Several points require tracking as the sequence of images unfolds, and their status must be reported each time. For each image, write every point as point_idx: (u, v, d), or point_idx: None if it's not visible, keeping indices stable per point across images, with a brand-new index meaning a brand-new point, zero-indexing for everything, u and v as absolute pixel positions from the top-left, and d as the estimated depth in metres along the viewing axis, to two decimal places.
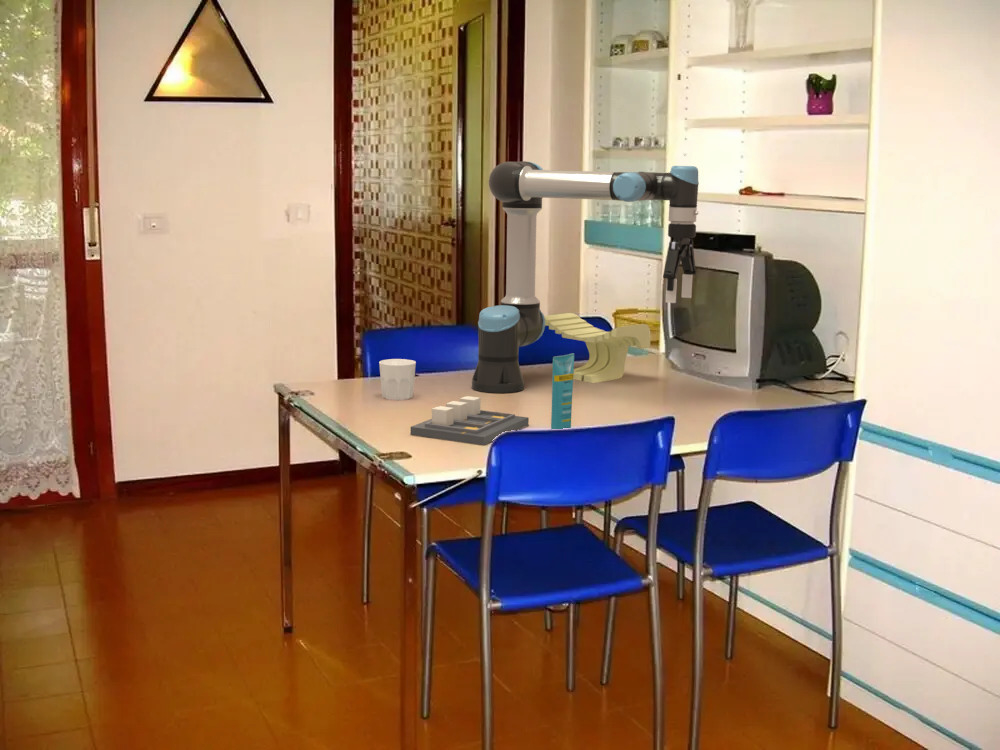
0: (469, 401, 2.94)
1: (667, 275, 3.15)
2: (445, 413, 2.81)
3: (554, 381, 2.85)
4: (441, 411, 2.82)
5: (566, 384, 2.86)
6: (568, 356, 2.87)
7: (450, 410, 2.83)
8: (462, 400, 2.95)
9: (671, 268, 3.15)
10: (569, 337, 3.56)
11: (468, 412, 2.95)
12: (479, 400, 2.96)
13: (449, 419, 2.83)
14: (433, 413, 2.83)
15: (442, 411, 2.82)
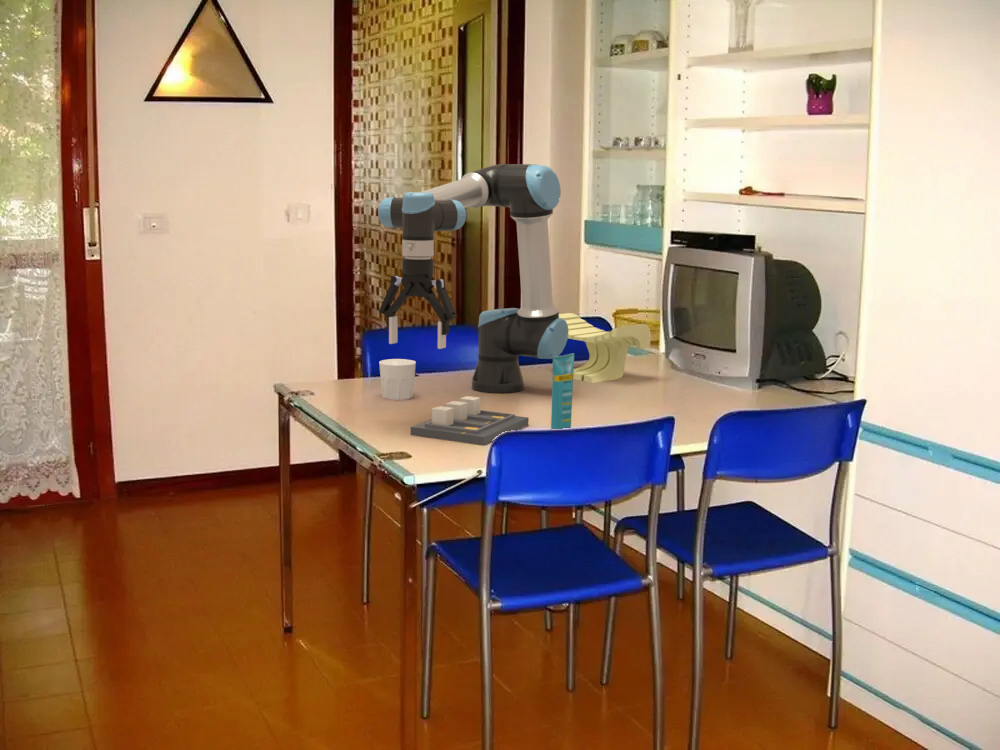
0: (469, 401, 2.94)
1: None
2: (445, 413, 2.81)
3: (554, 381, 2.85)
4: (441, 411, 2.82)
5: (566, 384, 2.86)
6: (568, 356, 2.87)
7: (450, 410, 2.83)
8: (462, 400, 2.95)
9: None
10: (569, 337, 3.56)
11: (468, 412, 2.95)
12: (479, 400, 2.96)
13: (449, 419, 2.83)
14: (433, 413, 2.83)
15: (442, 411, 2.82)
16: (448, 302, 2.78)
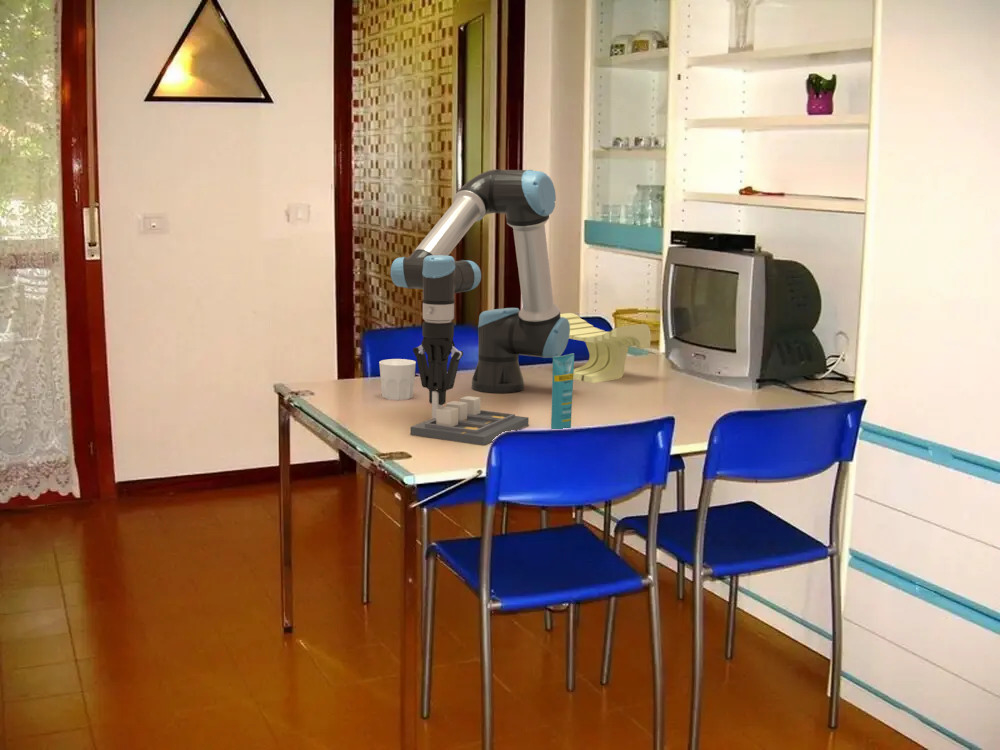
0: (469, 401, 2.94)
1: None
2: (450, 414, 2.81)
3: (554, 381, 2.85)
4: (446, 412, 2.81)
5: (566, 384, 2.86)
6: (568, 356, 2.87)
7: (455, 410, 2.83)
8: (462, 400, 2.95)
9: None
10: (569, 337, 3.56)
11: (468, 412, 2.95)
12: (479, 400, 2.96)
13: (454, 420, 2.82)
14: (438, 414, 2.82)
15: (447, 412, 2.81)
16: (453, 374, 2.80)
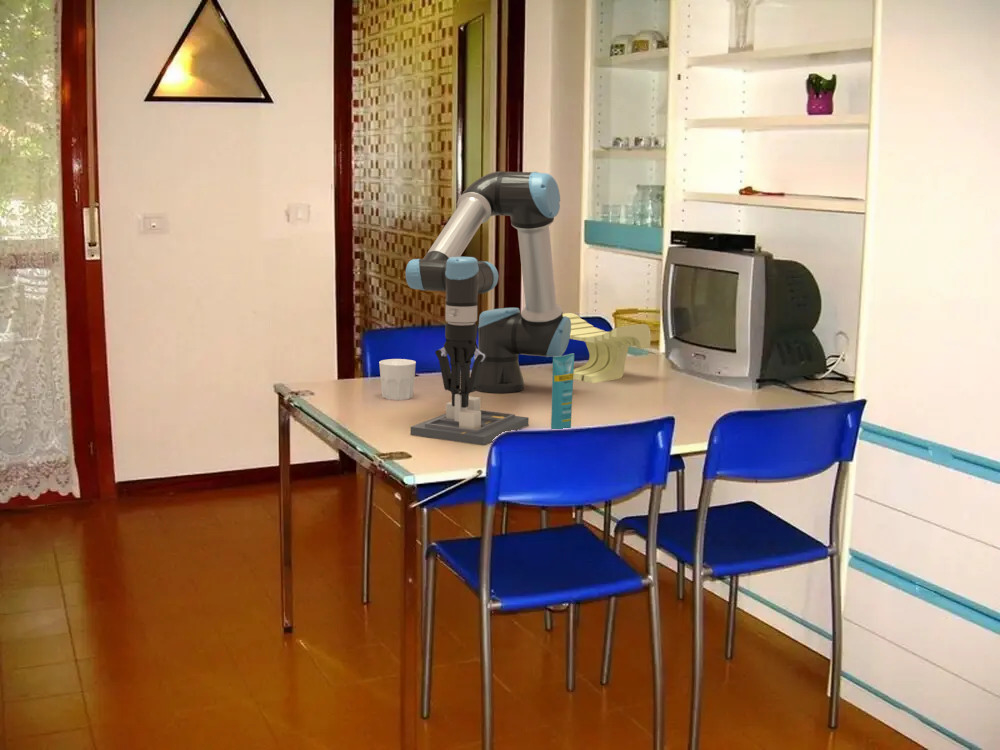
0: (469, 401, 2.94)
1: None
2: (473, 417, 2.78)
3: (554, 381, 2.85)
4: (469, 415, 2.78)
5: (566, 384, 2.86)
6: (568, 356, 2.87)
7: (478, 413, 2.80)
8: None
9: None
10: None
11: None
12: (479, 400, 2.96)
13: (477, 423, 2.80)
14: (460, 417, 2.80)
15: (470, 415, 2.78)
16: (476, 377, 2.78)
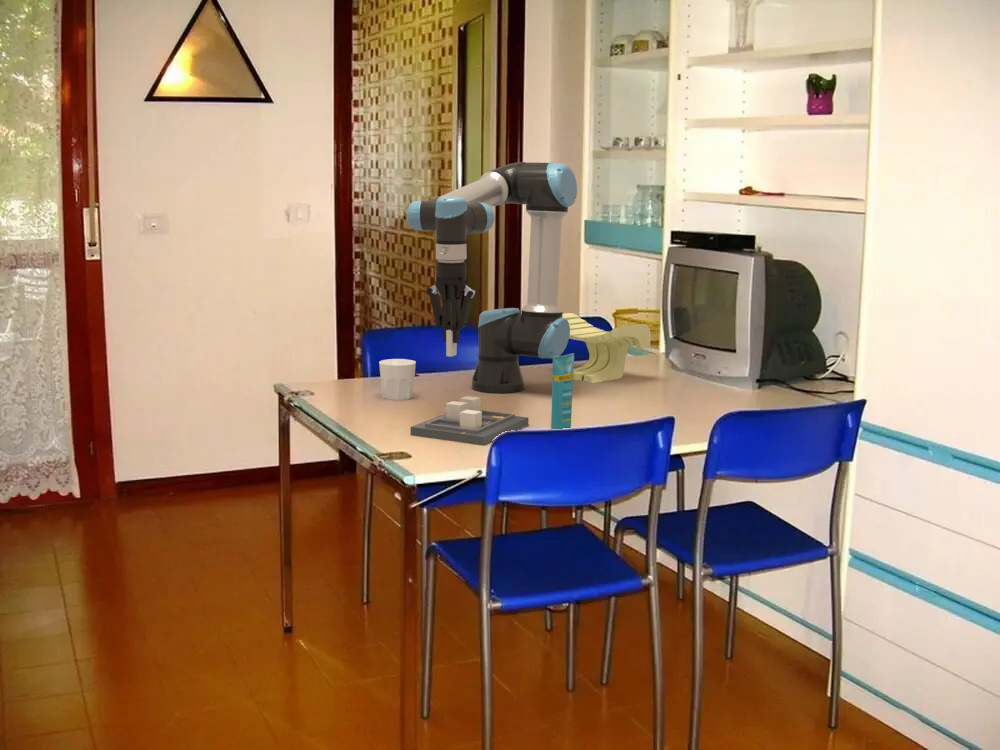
0: (469, 401, 2.94)
1: None
2: (473, 417, 2.78)
3: (554, 381, 2.85)
4: (469, 415, 2.78)
5: (566, 384, 2.86)
6: (568, 356, 2.87)
7: (479, 414, 2.80)
8: (462, 400, 2.95)
9: None
10: (569, 337, 3.56)
11: None
12: (479, 400, 2.96)
13: (477, 423, 2.80)
14: (461, 417, 2.79)
15: (470, 415, 2.78)
16: (467, 313, 2.88)
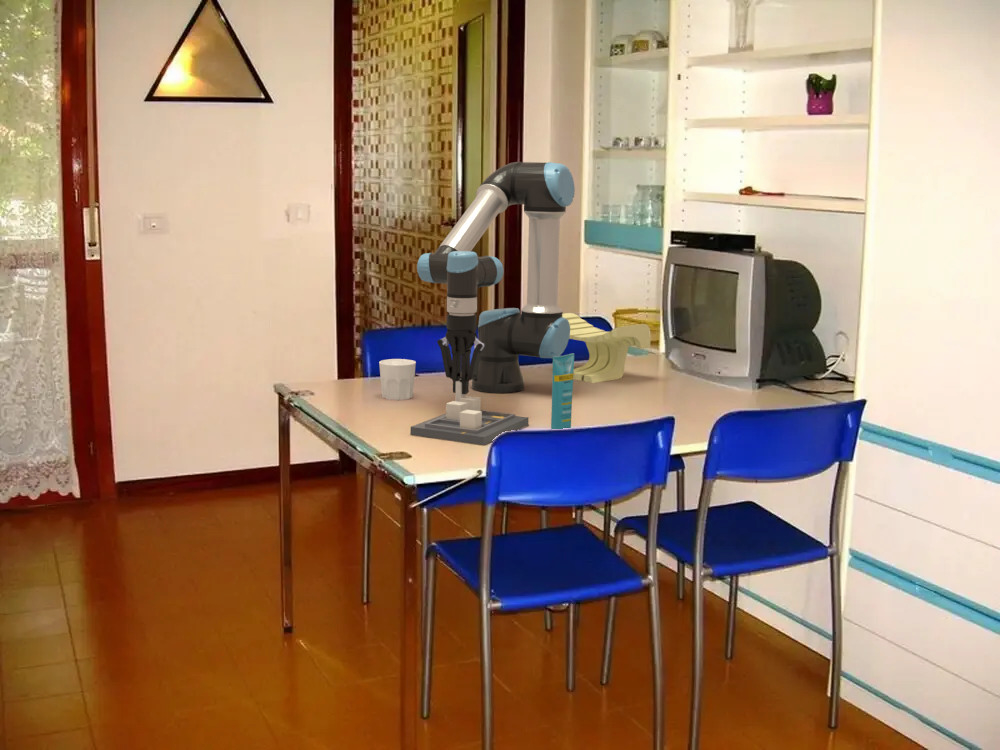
0: (469, 401, 2.94)
1: None
2: (473, 417, 2.78)
3: (554, 381, 2.85)
4: (469, 415, 2.78)
5: (566, 384, 2.86)
6: (568, 356, 2.87)
7: (479, 414, 2.80)
8: (462, 400, 2.95)
9: None
10: (569, 337, 3.56)
11: None
12: (479, 400, 2.96)
13: (477, 423, 2.80)
14: (461, 417, 2.79)
15: (470, 415, 2.78)
16: (476, 365, 2.93)
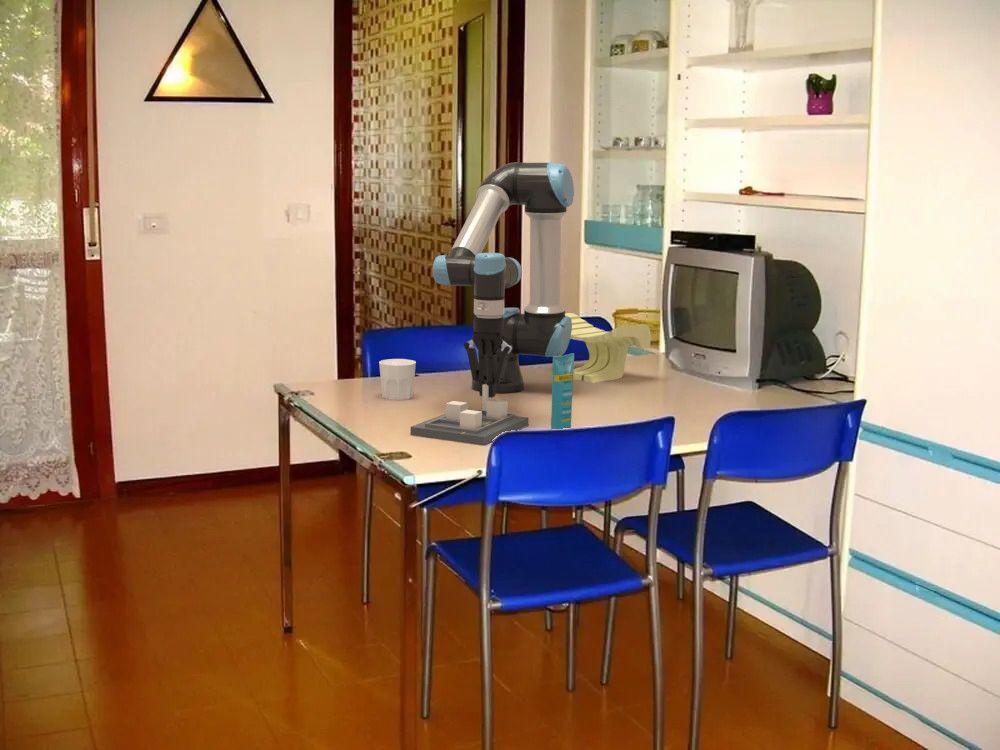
0: (496, 404, 2.91)
1: None
2: (473, 417, 2.78)
3: (554, 381, 2.85)
4: (469, 415, 2.78)
5: (566, 384, 2.86)
6: (568, 356, 2.87)
7: (479, 414, 2.80)
8: (489, 403, 2.91)
9: None
10: None
11: (495, 416, 2.91)
12: (506, 403, 2.93)
13: (477, 423, 2.80)
14: (461, 417, 2.79)
15: (470, 415, 2.78)
16: (503, 368, 2.90)
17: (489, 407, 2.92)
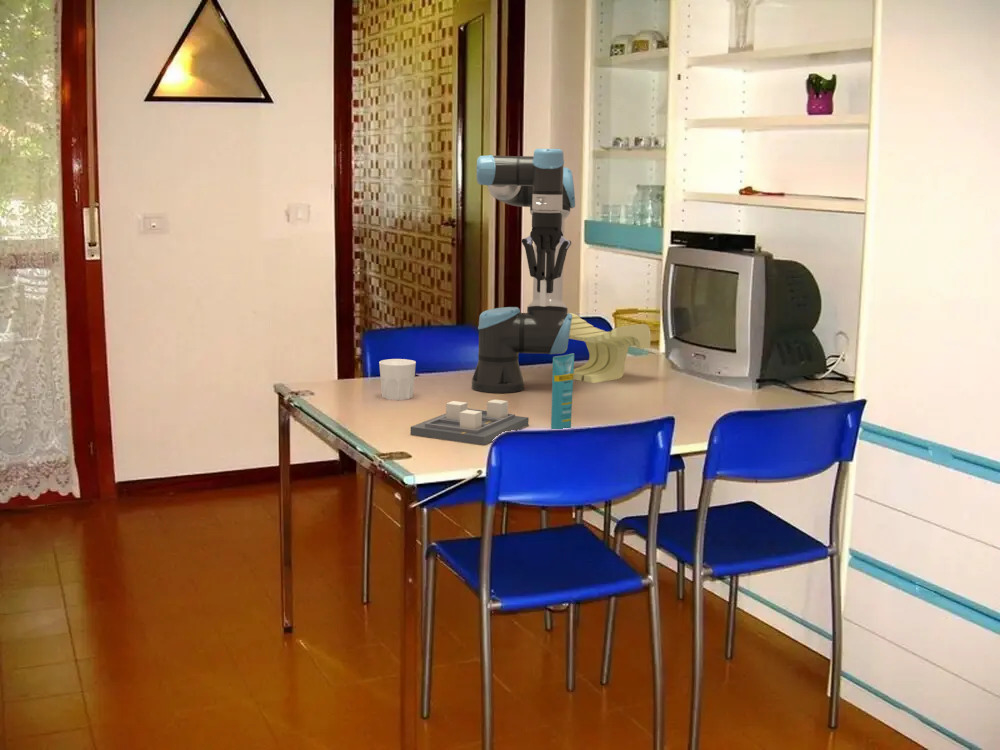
0: (497, 404, 2.91)
1: None
2: (473, 417, 2.78)
3: (554, 381, 2.85)
4: (469, 415, 2.78)
5: (566, 384, 2.86)
6: (568, 356, 2.87)
7: (479, 414, 2.80)
8: (489, 403, 2.91)
9: None
10: (569, 337, 3.56)
11: (495, 416, 2.91)
12: (506, 403, 2.93)
13: (477, 423, 2.80)
14: (461, 417, 2.79)
15: (470, 415, 2.78)
16: (561, 263, 2.93)
17: (490, 407, 2.92)
